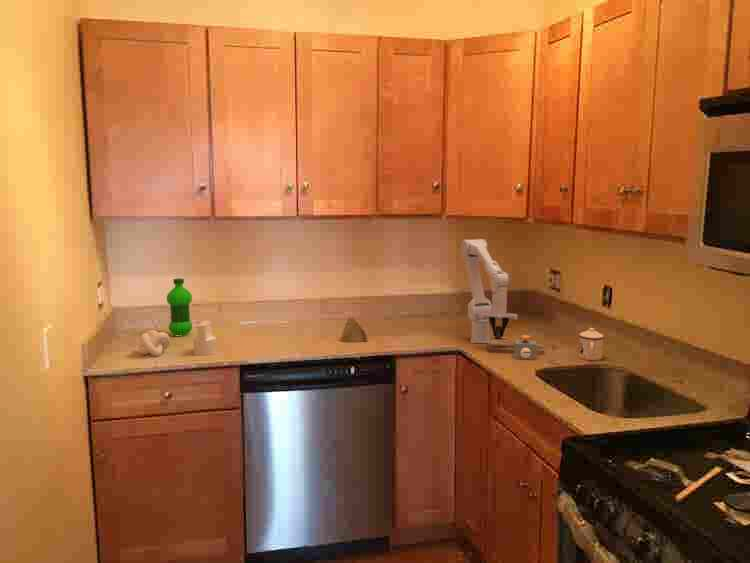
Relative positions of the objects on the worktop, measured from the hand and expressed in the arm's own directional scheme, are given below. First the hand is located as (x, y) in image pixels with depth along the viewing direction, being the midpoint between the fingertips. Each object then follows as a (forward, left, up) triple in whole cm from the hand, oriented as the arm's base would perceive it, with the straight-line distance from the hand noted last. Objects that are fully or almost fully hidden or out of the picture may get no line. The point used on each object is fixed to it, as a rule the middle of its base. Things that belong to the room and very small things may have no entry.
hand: (498, 336), depth 254 cm
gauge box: (+10, +10, -6) cm, 15 cm away
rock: (-4, -60, -6) cm, 60 cm away
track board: (0, +7, -6) cm, 9 cm away
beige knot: (+29, -135, -6) cm, 138 cm away
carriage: (0, 0, -4) cm, 4 cm away
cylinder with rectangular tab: (+24, -115, -6) cm, 118 cm away
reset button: (+10, +10, 0) cm, 14 cm away
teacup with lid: (+7, +35, -6) cm, 36 cm away
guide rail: (0, +7, -4) cm, 8 cm away
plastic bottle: (-2, -138, -6) cm, 138 cm away
